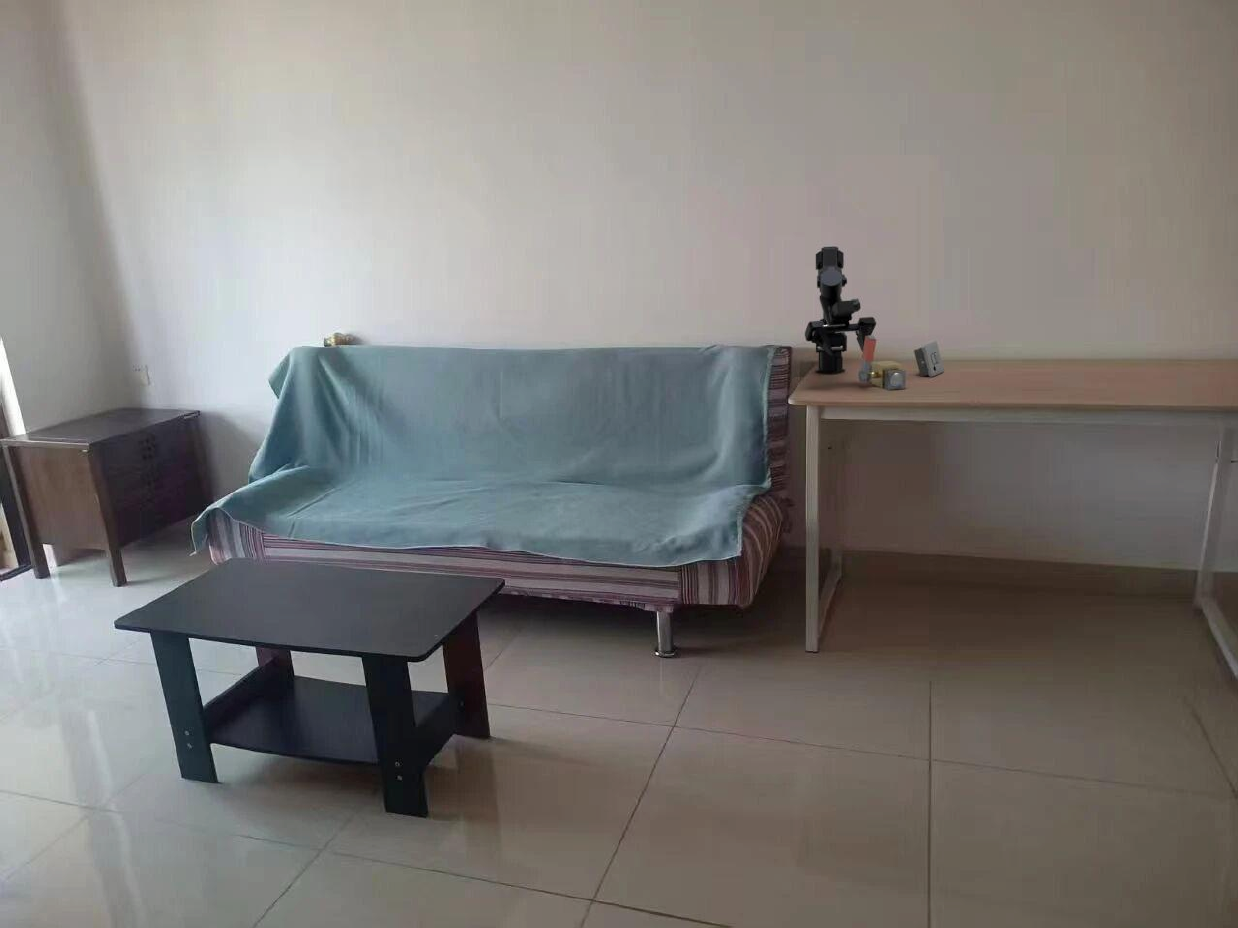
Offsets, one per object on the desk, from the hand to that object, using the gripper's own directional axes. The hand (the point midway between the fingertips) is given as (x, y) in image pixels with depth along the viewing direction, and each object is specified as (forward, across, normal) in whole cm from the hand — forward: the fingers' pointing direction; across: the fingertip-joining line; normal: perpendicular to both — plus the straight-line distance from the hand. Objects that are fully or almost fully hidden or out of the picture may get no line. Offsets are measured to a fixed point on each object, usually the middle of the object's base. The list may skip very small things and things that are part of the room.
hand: (848, 353), depth 258 cm
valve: (+6, +10, +8) cm, 14 cm away
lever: (+4, +5, +7) cm, 10 cm away
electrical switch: (-1, +28, +15) cm, 32 cm away
